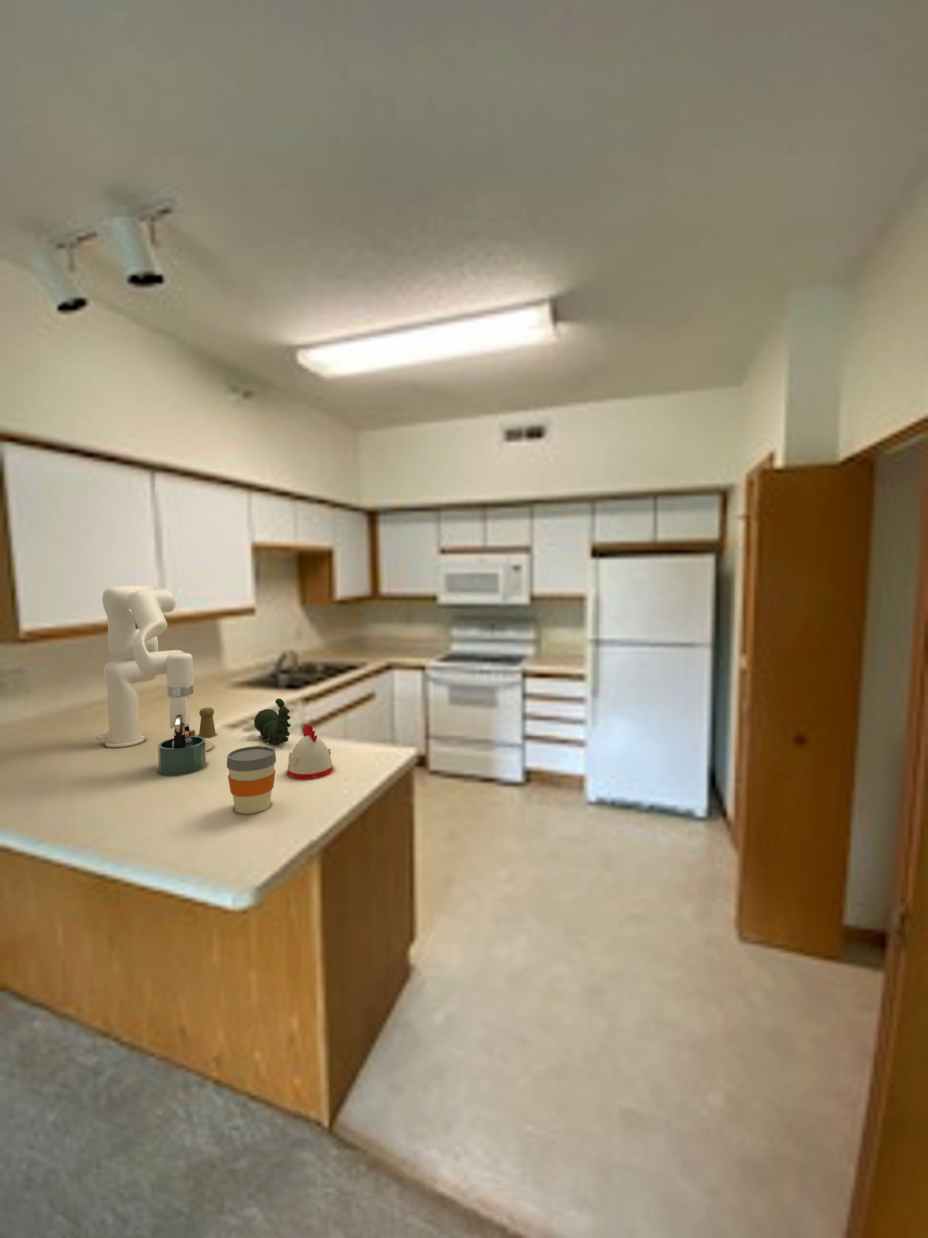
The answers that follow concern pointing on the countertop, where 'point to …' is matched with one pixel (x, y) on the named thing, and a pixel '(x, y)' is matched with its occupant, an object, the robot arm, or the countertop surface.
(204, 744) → the tin
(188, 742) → the pill bottle
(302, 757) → the kitchen timer
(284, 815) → the countertop surface
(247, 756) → the reusable coffee cup
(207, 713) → the cork
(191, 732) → the lid
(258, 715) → the toy figurine
